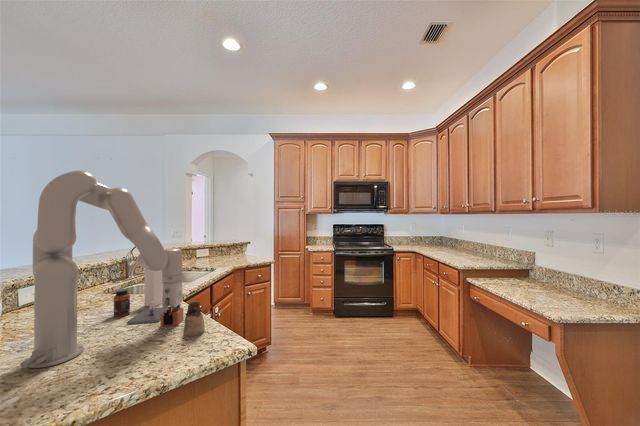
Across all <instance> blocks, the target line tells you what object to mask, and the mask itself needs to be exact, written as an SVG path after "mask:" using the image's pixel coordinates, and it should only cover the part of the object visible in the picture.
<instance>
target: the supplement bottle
mask: <svg viewBox="0 0 640 426" xmlns="http://www.w3.org/2000/svg"><path fill="white" fill-rule="evenodd" d="M130 314H131V294H129V293H128V289H127V288H121V289H118V290H116V293H115V296H113V316H114V318H121V317H123V318H124V317H126V316H128V315H130Z"/></svg>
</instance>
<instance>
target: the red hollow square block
mask: <svg viewBox="0 0 640 426" xmlns="http://www.w3.org/2000/svg"><path fill="white" fill-rule="evenodd" d="M168 310H169V311H170V309H168ZM172 314H173V324H172V325H164V316H163V312H162V313H161V320H160V327H172V326H173V327H174V326H179V324H181V322H183V320H184V307H182V306H180V308H173V310H172Z"/></svg>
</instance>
